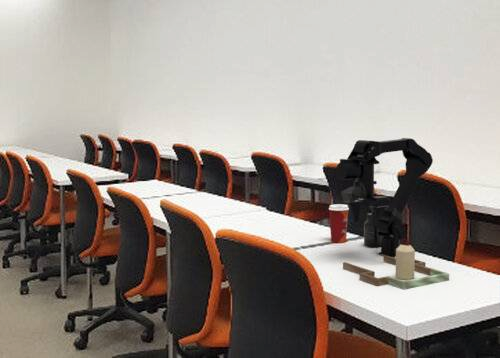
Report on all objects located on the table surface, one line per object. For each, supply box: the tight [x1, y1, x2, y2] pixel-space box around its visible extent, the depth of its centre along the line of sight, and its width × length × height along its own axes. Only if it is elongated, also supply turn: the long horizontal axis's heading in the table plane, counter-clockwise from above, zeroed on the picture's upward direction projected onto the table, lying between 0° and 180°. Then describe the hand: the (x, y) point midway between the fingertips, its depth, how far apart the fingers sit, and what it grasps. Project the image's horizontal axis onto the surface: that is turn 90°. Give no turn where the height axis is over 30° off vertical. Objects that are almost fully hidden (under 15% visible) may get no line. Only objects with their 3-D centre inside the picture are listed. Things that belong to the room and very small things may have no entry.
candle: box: [395, 244, 416, 281], centre depth 195 cm, size 6×6×10 cm
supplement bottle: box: [363, 212, 383, 249], centre depth 239 cm, size 7×7×12 cm
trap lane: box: [342, 255, 450, 290], centre depth 200 cm, size 26×28×2 cm
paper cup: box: [328, 203, 350, 244], centre depth 247 cm, size 8×8×14 cm
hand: (364, 224), depth 218 cm, fingers open, 9 cm apart
